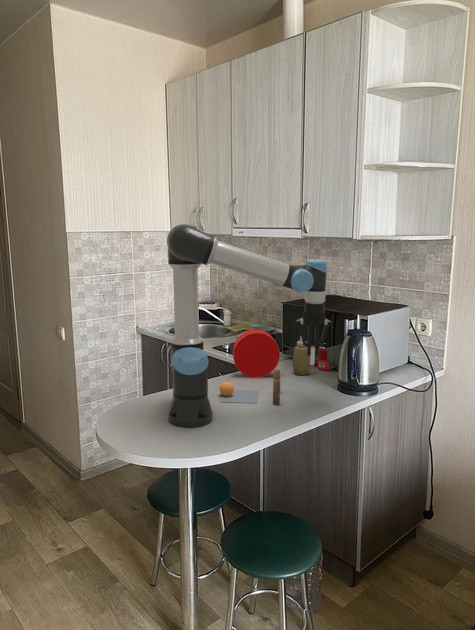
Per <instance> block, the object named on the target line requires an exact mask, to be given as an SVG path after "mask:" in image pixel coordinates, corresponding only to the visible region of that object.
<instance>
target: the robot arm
mask: <svg viewBox="0 0 475 630" xmlns="http://www.w3.org/2000/svg"><path fill="white" fill-rule="evenodd" d="M166 245H167V262H168V265H169V267H170V268H171V269H172V278H173V279H172V281H173V284H172V285H173V286H172V287H173V312H174V314H173V316H174V336H173V338H171V340H170V364H171V370H172V399H171V403H170V406H169V408H168V412H167V421H168V422H169V423H170V424H171V425H174V426H176V427H182V428H199V427H202V426H203V427H204V426H206V425H208V424H210V423H211V422H212V421H213V419H214V416H213V415H214V413H213V411H214V410H213V409H212V406H211V402H210V399H209V395H208V394H209V392H208V390H209V384H208V381H209V378H208V377H209V376H208V375H209V372H208V371H209V369H208V368H209V357H208V353H207V352H206V351H205V350H204V349H205V348H204V338H203V337H201V336H200V320H199V319H200V318H199V270H198V269H199V268H200V267H201V265H205V266H208V265H210V264H211V265H215V266H218V267H222V268H224V269H227V270H231V271H234V272H237V273H240V274H243V275H247V276H250V277H252V278H256V279H259V280H262V281H265V282H269V283H272V284H273V285H274V286H275V287H284V288H287V289H290V290H293V291H294V292H296V293H297V292H298V293H304V301H305V302H304V304H303V305H304V306H303V315H302V317H301V318H300V319H296V324H297V325H298V327H299V332H300V337H302V342H303V345H304V346H307V355H308V356H310V365H311V366H315V359H316V357H318V347H321V346H323V344H325V340H326V337H327V333H328V331H329V328H330V326H331V325H332V321H331V319H330V320H329V319H328V318H326V314H325V312H326V303H325V302H326V293H327V290H326V287H327V286H326V285H327V275H328V273H327V272H328V270H327V261H325V260H323V259H306V261H305V264H304V265H293V264H289V263H286V262H283V261H281V260H276V259H273V258H272V257H267V256H264V255H261V254H259V253H256V252H253V251H249V250H246V249H243V248H241V247H237V246H234V245H231V244H229V243H225V242H222V241H219V240H218V239H217V236H214V235H210V234H209V233H206V232H204V231H202V230H201V229H199V228H197V227H196V226H193V225H191V224H186V223H183V224H178V225H176V226H174V227H172V228H171V230H169V232H168V234H167V237H166ZM304 323H305V324H306V326H307V328H308V329H307V341H306V335H305V332H304V326H303V325H304ZM323 324H324V326H323V329H322V334H321V337H320V336H319V335H320V327H321V326H322V325H323ZM313 328H314V345H313V346H312V336H313V332H312V331H313ZM319 338H320V339H319ZM307 342H308V343H307Z"/></svg>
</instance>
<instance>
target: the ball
mask: <svg viewBox="0 0 475 630" xmlns="http://www.w3.org/2000/svg"><path fill="white" fill-rule="evenodd" d="M218 388H219V392H220V394H221V396H222V395H224V396H230V395H231V394H232V393H233V391H234V390H235V389H234V388H235V387H234V385H233V384H232V382H230V381H224V382H222V383H221V384H220V385H219V387H218Z"/></svg>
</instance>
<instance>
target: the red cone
mask: <svg viewBox="0 0 475 630" xmlns="http://www.w3.org/2000/svg"><path fill="white" fill-rule="evenodd" d="M317 369H318V370H320V371H323V370H324V371H323V372H325V371H326V372H331V371H330V370H332V369H331V368H330V367H329V363H328V360H327V351H326V349H325V347H319V348H318V355H317ZM332 371H333V370H332Z"/></svg>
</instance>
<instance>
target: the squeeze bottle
mask: <svg viewBox="0 0 475 630" xmlns="http://www.w3.org/2000/svg"><path fill="white" fill-rule="evenodd" d="M306 342H307V343H308V341H306ZM293 350H294V351H293V355H292V356H293V357H292V365H291V366H292V370H293V373H294V374H295V375H299V376H306V375H308V374H309V372H310V368H311V366H312V365H310V356H308V355H307V346H304V345H303V342H302V337H301V336H300V337H299V340H298V341H296V346H294V349H293Z"/></svg>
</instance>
